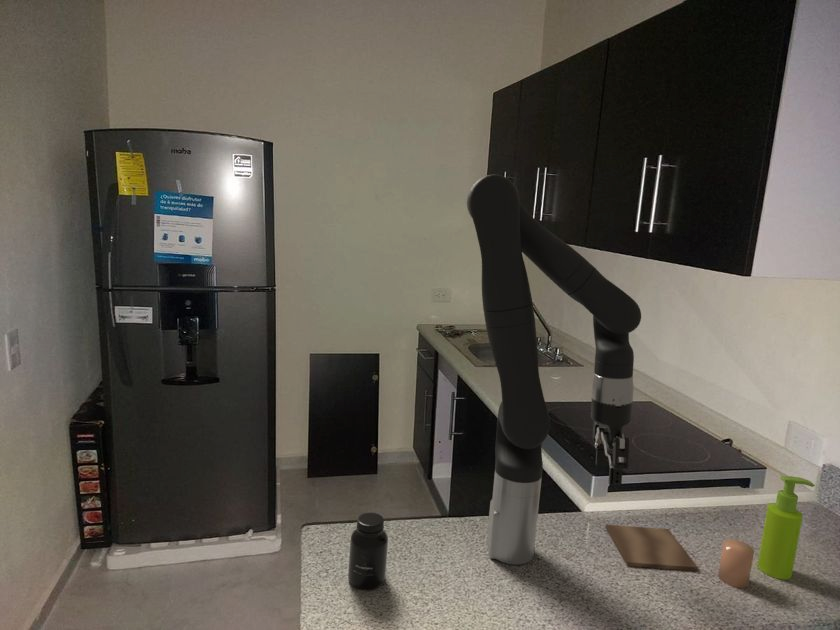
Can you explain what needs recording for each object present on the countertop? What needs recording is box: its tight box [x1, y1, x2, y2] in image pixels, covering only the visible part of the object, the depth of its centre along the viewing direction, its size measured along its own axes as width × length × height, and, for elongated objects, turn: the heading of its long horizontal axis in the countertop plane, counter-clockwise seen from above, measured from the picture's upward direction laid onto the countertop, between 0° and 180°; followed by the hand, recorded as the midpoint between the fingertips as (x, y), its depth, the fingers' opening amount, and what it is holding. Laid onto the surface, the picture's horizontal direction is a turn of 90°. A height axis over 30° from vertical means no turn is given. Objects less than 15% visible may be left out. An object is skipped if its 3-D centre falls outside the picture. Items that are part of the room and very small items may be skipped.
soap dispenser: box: [757, 475, 816, 580], centre depth 109 cm, size 6×7×20 cm
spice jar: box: [717, 538, 755, 589], centre depth 107 cm, size 5×5×7 cm
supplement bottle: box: [347, 512, 389, 591], centre depth 99 cm, size 7×7×12 cm
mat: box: [605, 524, 699, 572], centre depth 116 cm, size 14×14×1 cm
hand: (607, 475), depth 108 cm, fingers open, 8 cm apart
